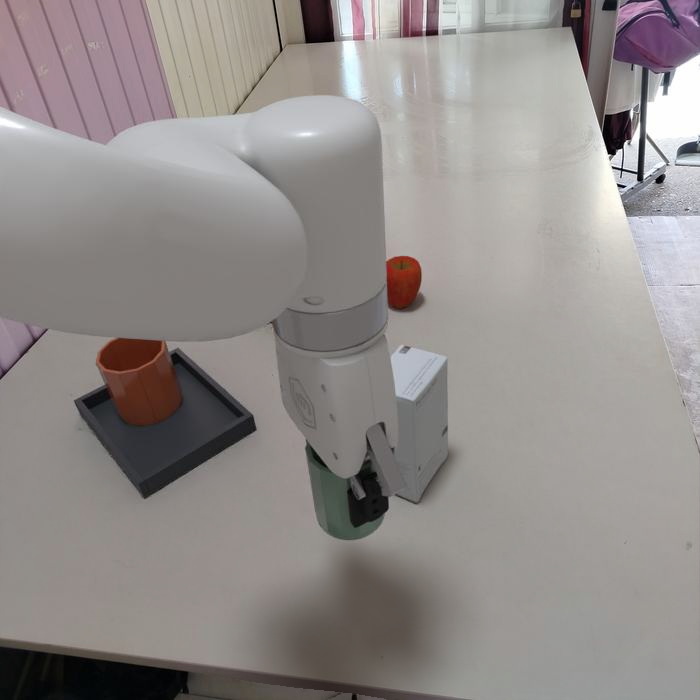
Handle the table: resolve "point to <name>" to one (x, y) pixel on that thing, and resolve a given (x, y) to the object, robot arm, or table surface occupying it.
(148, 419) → the terracotta cup
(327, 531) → the sage cup
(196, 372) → the tray
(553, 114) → the table surface
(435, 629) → the table surface
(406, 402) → the cosmetic box
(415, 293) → the apple
